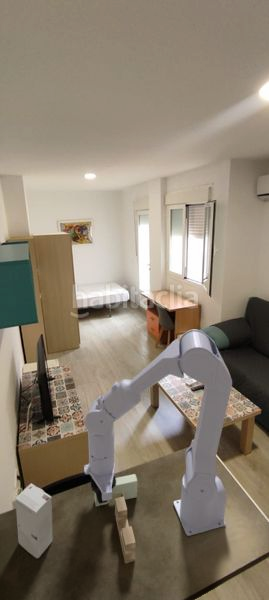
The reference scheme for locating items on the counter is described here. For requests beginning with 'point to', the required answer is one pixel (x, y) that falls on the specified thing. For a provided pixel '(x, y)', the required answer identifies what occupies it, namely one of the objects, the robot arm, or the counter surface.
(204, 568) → the counter surface
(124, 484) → the slotted plate
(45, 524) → the skincare box
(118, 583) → the counter surface
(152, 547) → the counter surface
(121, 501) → the wooden notched block
